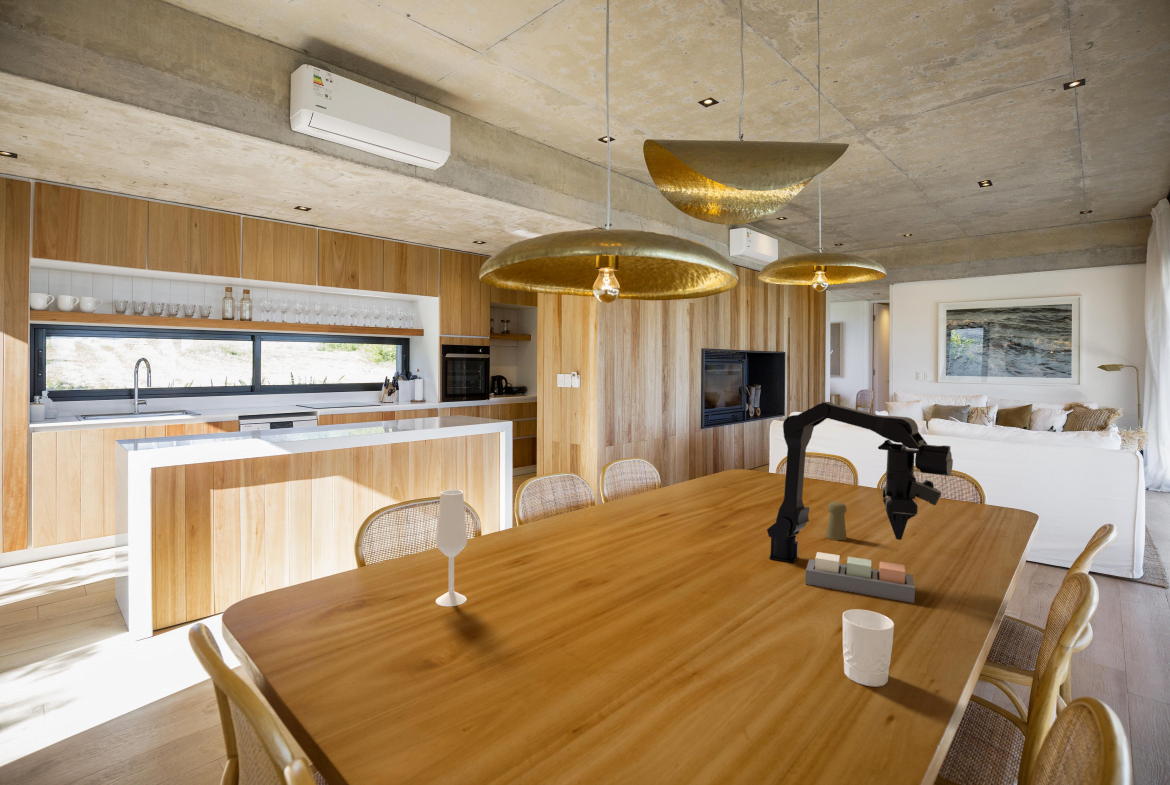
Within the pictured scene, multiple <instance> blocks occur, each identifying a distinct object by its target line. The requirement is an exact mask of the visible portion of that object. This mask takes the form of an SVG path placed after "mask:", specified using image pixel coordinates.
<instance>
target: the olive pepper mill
mask: <svg viewBox="0 0 1170 785" xmlns="http://www.w3.org/2000/svg"><path fill="white" fill-rule="evenodd" d="M827 509H828V512H829V515H828V520H827V527H826V532H825V533H826V534H825V538H826V537H827V538H826V539H828V538H829V539H828V540H831V539H833V540H832V541H836V540H845V541H847V540H846V539H847V538H848V537H847V530H846V519H845V514H846V513H847V506H846V504H845V503H842V502H839V501H838V502H837V501H833V502H830V503H829V504H828V505H827Z"/></svg>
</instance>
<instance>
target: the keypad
mask: <svg viewBox="0 0 1170 785" xmlns="http://www.w3.org/2000/svg"><path fill="white" fill-rule="evenodd" d="M846 573H847V564H844V563H839V573H834V572H828V571H821V570H815V559H810V558H809V559H808V562H807V565H806V569H805V579H804V580H805V585H807V584H808V586H813V585H814V586H813V587H819V588H824V587H825V588H826V589H830V588H832V590H836V589H837V590H836V591H842V590H843V591H842V592H847V591H849V593H853V592H854V594H859V595H864V596H871V597H877V598H883V599H889V600H894V601H901V602H906V603H912V604H914V603H915V596H916V595H915V594H916V592H915V591H916V586H915V581H914V575H912V574H910V573H909V574H907V573H905V584H901V583H895V582H889V581H883V580H879V569H876V568H871V578H864V577H858V576H852V575H846Z"/></svg>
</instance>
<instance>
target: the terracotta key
mask: <svg viewBox="0 0 1170 785" xmlns="http://www.w3.org/2000/svg"><path fill="white" fill-rule="evenodd" d="M878 570H879V580H883V581H889V582H895V583H901V584H905V574H906V567H905V564H901V563H900V564H899V563H894V562H886V561H879V566H878Z"/></svg>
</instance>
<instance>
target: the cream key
mask: <svg viewBox="0 0 1170 785" xmlns="http://www.w3.org/2000/svg"><path fill="white" fill-rule="evenodd" d="M840 558H841V557H840V554H839V555H838V554H834V553H828V552H827V553H826V552H820V551H817V552H816V555H815V558H814V560H815V570H821V571H828V572H834V573H839V564H840Z"/></svg>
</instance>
